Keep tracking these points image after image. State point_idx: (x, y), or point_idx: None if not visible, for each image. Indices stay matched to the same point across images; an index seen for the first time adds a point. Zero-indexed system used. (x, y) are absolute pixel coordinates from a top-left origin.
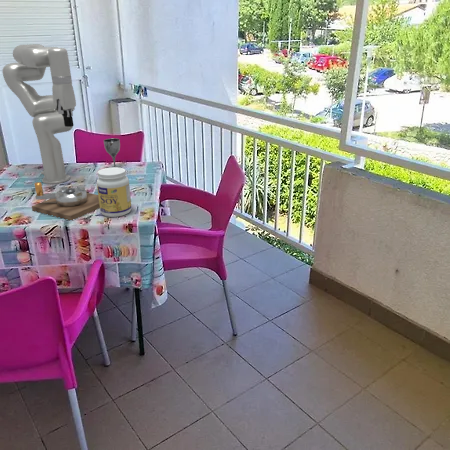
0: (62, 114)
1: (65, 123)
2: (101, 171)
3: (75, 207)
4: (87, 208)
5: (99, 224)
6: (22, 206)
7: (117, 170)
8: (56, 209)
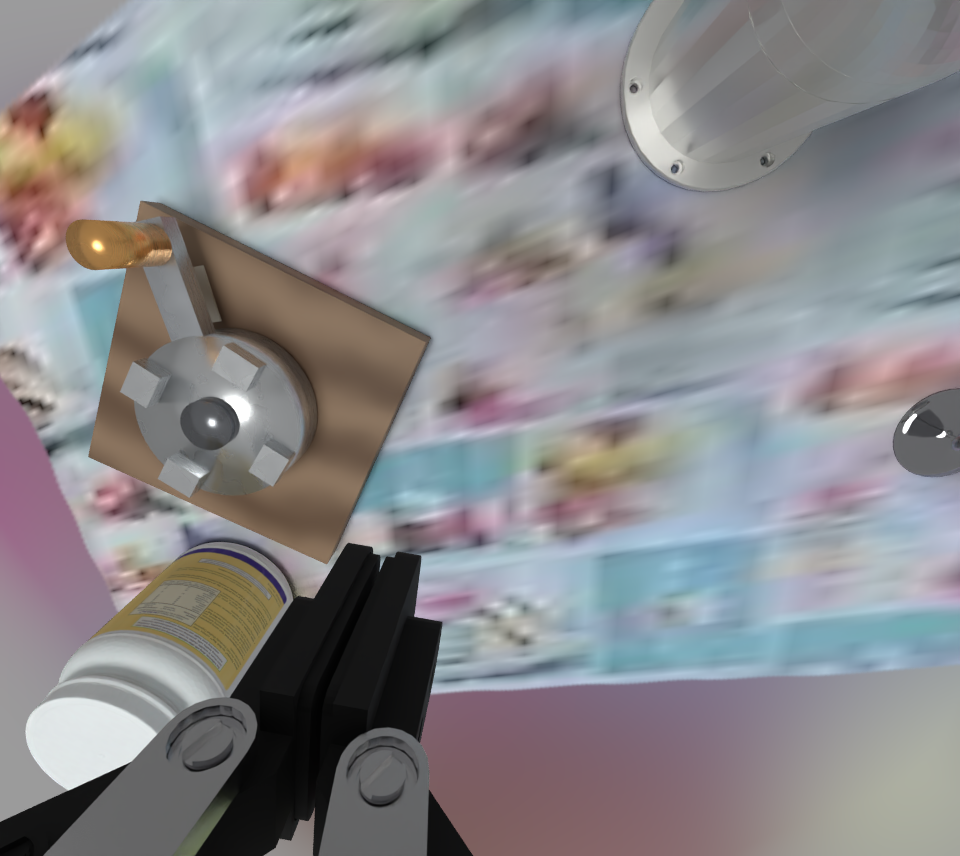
0: (50, 815)
1: (291, 609)
2: (75, 713)
3: None
4: (184, 499)
5: (111, 559)
6: (203, 98)
7: None
8: None
